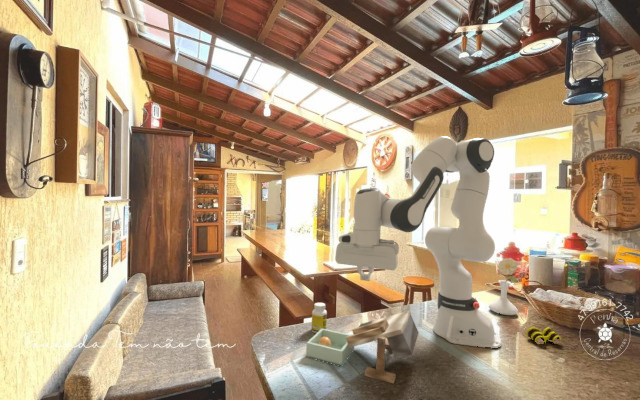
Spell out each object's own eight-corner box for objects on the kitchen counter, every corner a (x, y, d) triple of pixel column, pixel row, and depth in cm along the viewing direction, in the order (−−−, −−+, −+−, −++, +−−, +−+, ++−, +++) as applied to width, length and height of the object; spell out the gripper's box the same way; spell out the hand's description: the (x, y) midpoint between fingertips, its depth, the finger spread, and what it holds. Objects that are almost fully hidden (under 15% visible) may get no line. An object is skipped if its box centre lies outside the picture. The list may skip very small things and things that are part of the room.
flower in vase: (482, 308, 146) (485, 253, 145) (506, 307, 147) (508, 254, 146) (502, 319, 133) (505, 260, 132) (527, 319, 134) (530, 260, 133)
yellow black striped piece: (535, 347, 110) (538, 335, 109) (524, 338, 116) (527, 325, 114) (560, 347, 111) (564, 334, 110) (548, 337, 117) (551, 325, 115)
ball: (327, 332, 103) (319, 338, 104) (322, 337, 99) (313, 344, 100) (335, 342, 102) (326, 349, 103) (330, 348, 98) (321, 355, 99)
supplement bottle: (324, 334, 113) (325, 307, 113) (309, 333, 114) (310, 306, 114) (327, 328, 118) (328, 302, 118) (313, 326, 119) (314, 301, 119)
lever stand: (406, 347, 105) (407, 314, 105) (393, 383, 85) (395, 343, 85) (382, 342, 109) (383, 310, 108) (364, 375, 88) (365, 336, 88)
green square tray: (354, 349, 103) (354, 335, 103) (341, 366, 92) (342, 351, 92) (321, 341, 108) (321, 328, 108) (306, 357, 97) (306, 342, 97)
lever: (418, 332, 101) (407, 305, 102) (411, 355, 86) (398, 323, 87) (370, 344, 107) (360, 319, 108) (356, 368, 92) (345, 338, 94)
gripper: (400, 239, 102) (399, 282, 102) (340, 234, 110) (339, 273, 111) (397, 242, 96) (395, 287, 96) (334, 236, 104) (333, 278, 105)
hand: (365, 280), depth 104 cm, fingers closed
